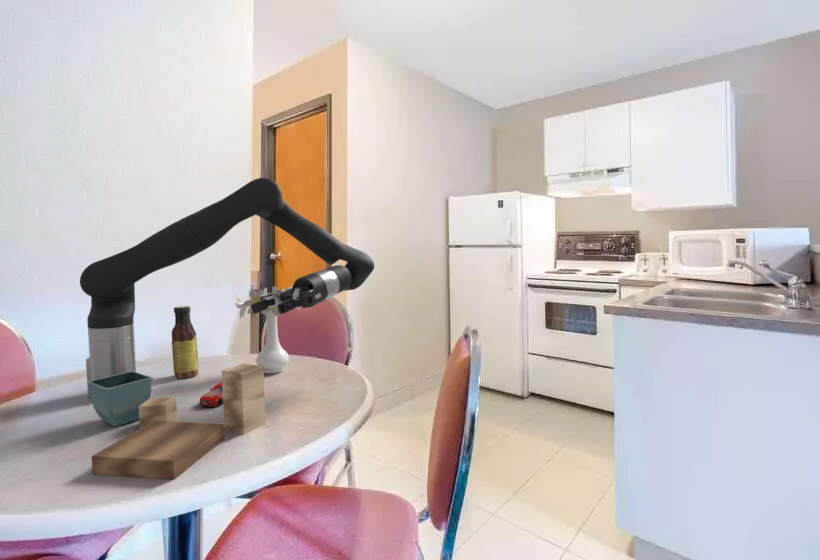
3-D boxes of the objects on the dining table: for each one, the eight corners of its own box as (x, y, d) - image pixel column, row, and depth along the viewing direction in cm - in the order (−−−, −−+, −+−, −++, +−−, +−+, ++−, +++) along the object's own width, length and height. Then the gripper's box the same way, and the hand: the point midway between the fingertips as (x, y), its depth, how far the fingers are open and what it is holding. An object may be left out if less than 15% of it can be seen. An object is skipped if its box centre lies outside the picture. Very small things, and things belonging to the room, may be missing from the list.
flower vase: (236, 369, 127) (233, 286, 125) (299, 362, 134) (297, 284, 132) (237, 381, 115) (234, 290, 113) (306, 373, 122) (304, 287, 120)
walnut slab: (92, 474, 67) (91, 456, 67) (155, 435, 81) (154, 420, 81) (174, 479, 66) (173, 460, 66) (223, 439, 80) (223, 423, 79)
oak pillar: (224, 429, 84) (221, 370, 83) (245, 419, 89) (244, 363, 88) (243, 434, 82) (241, 373, 81) (265, 424, 87) (263, 366, 86)
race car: (213, 411, 95) (212, 393, 94) (194, 408, 96) (193, 391, 96) (252, 391, 107) (251, 376, 107) (234, 389, 109) (234, 374, 109)
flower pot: (108, 433, 82) (106, 388, 82) (88, 423, 87) (86, 381, 86) (155, 418, 90) (153, 376, 89) (134, 410, 95) (132, 370, 94)
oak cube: (139, 431, 84) (138, 406, 83) (151, 421, 89) (150, 397, 88) (167, 429, 84) (165, 405, 84) (176, 419, 89) (175, 396, 89)
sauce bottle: (203, 375, 121) (200, 306, 120) (181, 380, 116) (178, 308, 114) (190, 371, 124) (187, 304, 123) (168, 377, 119) (165, 307, 118)
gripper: (293, 274, 107) (239, 293, 94) (335, 271, 99) (284, 292, 86) (299, 302, 109) (248, 325, 95) (342, 301, 101) (293, 326, 88)
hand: (265, 309), depth 91 cm, fingers open, 8 cm apart
